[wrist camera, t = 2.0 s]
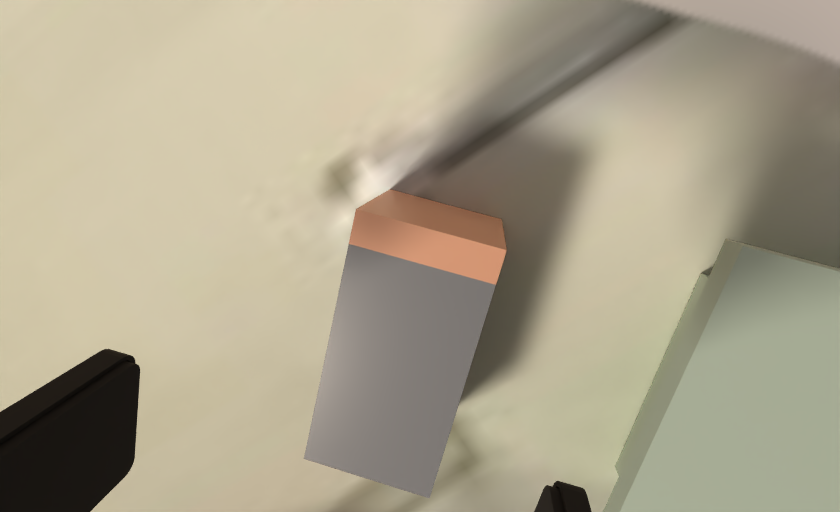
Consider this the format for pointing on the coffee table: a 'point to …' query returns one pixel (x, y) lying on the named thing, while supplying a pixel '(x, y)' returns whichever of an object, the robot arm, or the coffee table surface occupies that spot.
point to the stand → (743, 395)
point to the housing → (403, 338)
